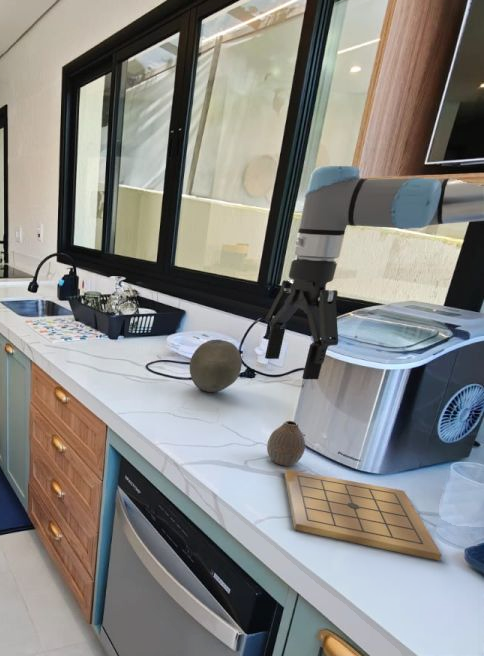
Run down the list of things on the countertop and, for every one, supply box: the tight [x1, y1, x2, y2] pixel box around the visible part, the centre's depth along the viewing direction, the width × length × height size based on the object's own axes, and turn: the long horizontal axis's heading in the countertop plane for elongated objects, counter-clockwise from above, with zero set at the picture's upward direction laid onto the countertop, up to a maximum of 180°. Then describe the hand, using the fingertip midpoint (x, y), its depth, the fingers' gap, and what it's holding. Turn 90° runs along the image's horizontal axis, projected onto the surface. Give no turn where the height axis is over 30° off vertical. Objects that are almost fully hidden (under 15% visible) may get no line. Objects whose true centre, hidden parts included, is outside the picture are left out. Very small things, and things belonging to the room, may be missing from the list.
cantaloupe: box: [189, 339, 243, 393], centre depth 141 cm, size 14×14×15 cm
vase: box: [266, 420, 306, 467], centre depth 103 cm, size 7×7×9 cm
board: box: [284, 469, 443, 562], centre depth 88 cm, size 20×20×1 cm
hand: (289, 368), depth 101 cm, fingers open, 13 cm apart
